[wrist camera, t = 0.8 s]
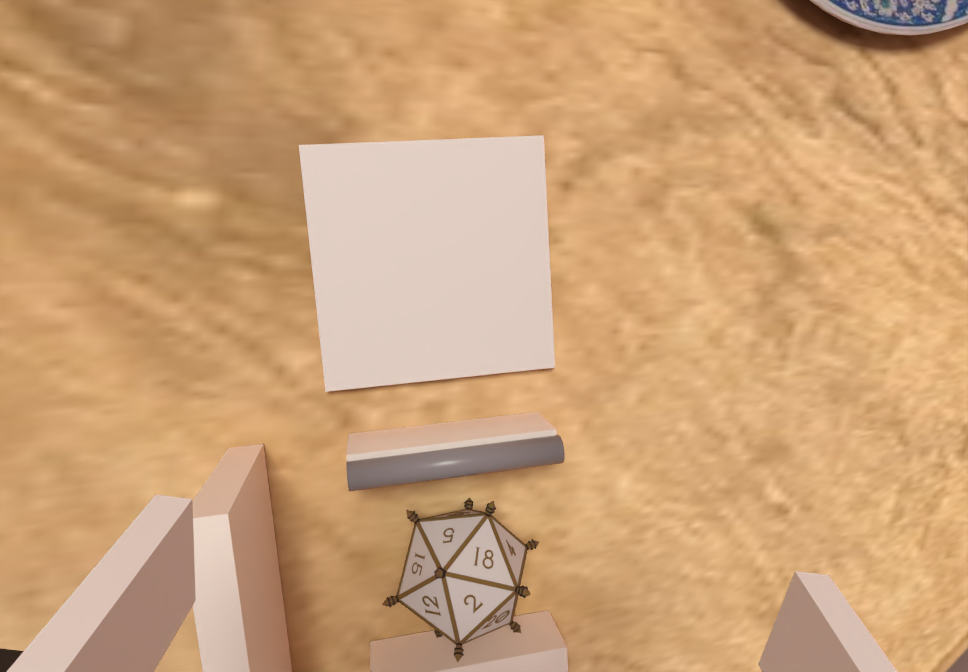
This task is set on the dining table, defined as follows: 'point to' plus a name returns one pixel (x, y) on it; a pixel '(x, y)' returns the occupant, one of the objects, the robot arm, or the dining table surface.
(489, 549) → the game die
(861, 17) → the ceramic plate
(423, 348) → the mat
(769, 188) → the dining table surface
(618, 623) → the dining table surface
